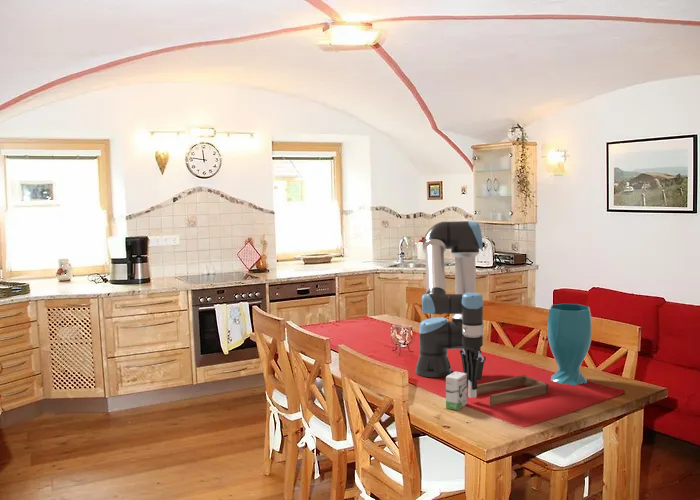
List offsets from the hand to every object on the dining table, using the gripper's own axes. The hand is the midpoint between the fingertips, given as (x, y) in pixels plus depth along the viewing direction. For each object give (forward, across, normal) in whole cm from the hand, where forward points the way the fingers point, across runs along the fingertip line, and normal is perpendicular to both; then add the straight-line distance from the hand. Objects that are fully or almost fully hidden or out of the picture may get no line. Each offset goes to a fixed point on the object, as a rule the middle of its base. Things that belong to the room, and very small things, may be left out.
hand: (472, 397), depth 247 cm
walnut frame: (+2, 0, +17) cm, 17 cm away
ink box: (+2, +1, -8) cm, 8 cm away
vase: (+2, -3, +50) cm, 50 cm away
